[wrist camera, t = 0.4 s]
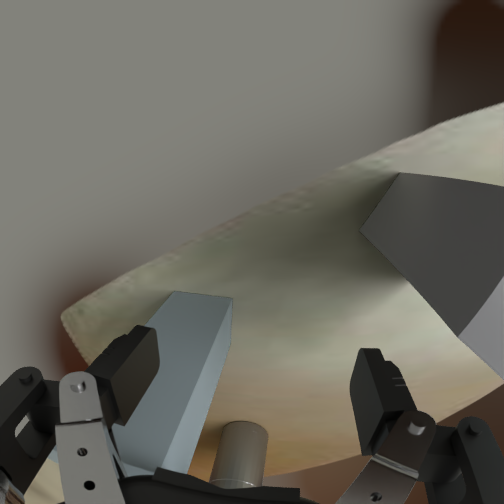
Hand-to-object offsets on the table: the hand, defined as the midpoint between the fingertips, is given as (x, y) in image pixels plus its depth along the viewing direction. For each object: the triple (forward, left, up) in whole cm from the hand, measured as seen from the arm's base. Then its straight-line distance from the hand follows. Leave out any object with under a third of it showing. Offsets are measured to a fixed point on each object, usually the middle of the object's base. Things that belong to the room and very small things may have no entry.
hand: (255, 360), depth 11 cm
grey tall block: (+1, -19, -30) cm, 35 cm away
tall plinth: (-16, +9, -30) cm, 35 cm away
